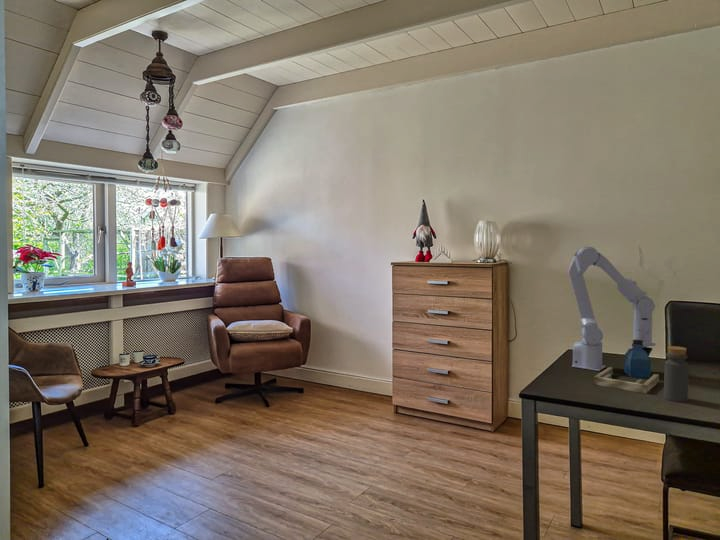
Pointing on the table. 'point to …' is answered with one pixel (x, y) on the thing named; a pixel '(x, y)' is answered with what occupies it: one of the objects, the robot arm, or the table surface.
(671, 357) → the bottle
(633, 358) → the perfume bottle
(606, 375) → the walled pen
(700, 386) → the table surface
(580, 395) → the table surface
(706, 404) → the table surface
